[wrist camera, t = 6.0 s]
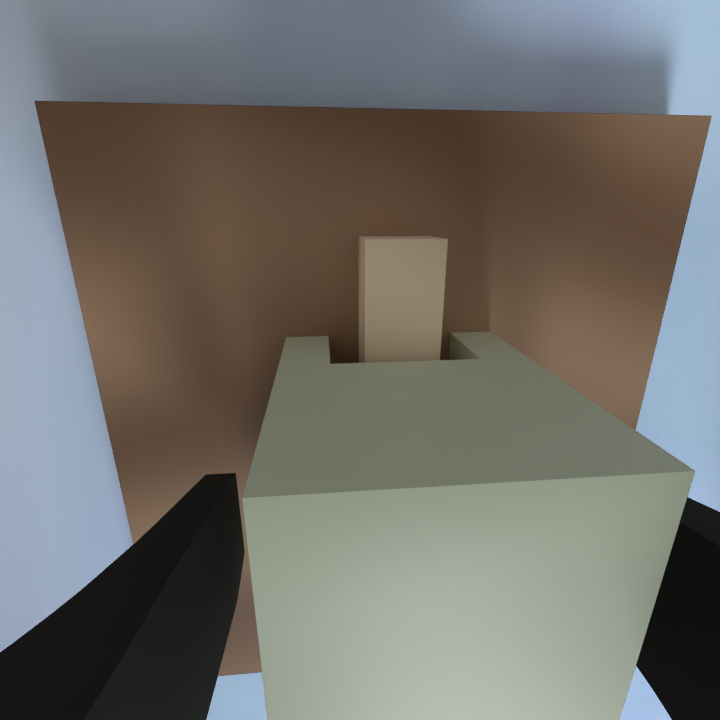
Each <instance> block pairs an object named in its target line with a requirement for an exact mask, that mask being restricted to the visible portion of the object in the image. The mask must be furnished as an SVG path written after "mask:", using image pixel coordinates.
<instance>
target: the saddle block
mask: <svg viewBox="0 0 720 720" xmlns="http://www.w3.org/2000/svg"><path fill="white" fill-rule="evenodd" d="M694 473H695V471H694V470H693V469H691V468H690V467H688V466H687V465H685V464H684V463H683V462H681V461H680V460H678V459H677V458H675V457H674V456H672V455H671V454H669V453H668V452H666V451H665V450H663V449H662V448H660V447H659V446H658V445H656V444H655V443H653V442H652V441H650V440H649V439H647V438H646V437H644V436H643V435H641V434H640V433H638V432H637V431H635V430H634V429H633V428H631V427H630V426H628V425H627V424H625V423H624V422H622V421H621V420H619V419H618V418H616V417H615V416H613V415H612V414H611V413H609V412H608V411H606V410H605V409H603V408H602V407H600V406H599V405H597V404H596V403H594V402H593V401H591V400H590V399H588V398H587V397H586V396H584V395H583V394H581V393H580V392H578V391H577V390H575V389H574V388H572V387H571V386H569V385H568V384H566V383H565V382H563V381H562V380H561V379H559V378H558V377H556V376H555V375H553V374H552V373H550V372H549V371H547V370H546V369H544V368H543V367H541V366H540V365H538V364H537V363H536V362H534V361H533V360H531V359H530V358H528V357H527V356H525V355H524V354H522V353H521V352H519V351H518V350H516V349H515V348H513V347H512V346H511V345H509V344H508V343H506V342H505V341H503V340H502V339H500V338H499V337H497V336H496V335H494V334H493V333H491V332H455V333H451V334H450V348H449V360H433V361H403V362H373V363H343V364H330V351H329V337H328V336H309V337H286V340H285V344H284V347H283V351H282V355H281V358H280V362H279V366H278V369H277V373H276V377H275V380H274V384H273V387H272V391H271V395H270V398H269V402H268V406H267V409H266V413H265V417H264V420H263V424H262V428H261V431H260V435H259V439H258V442H257V446H256V450H255V453H254V457H253V460H252V464H251V468H250V471H249V475H248V479H247V482H246V486H245V490H244V493H243V497H242V501H243V510H244V518H245V527H246V536H247V545H248V553H249V562H250V571H251V580H252V588H253V597H254V606H255V615H256V623H257V632H258V641H259V650H260V658H261V667H262V676H263V685H264V693H265V702H266V711H267V720H620V716H621V713H622V710H623V706H624V703H625V700H626V697H627V693H628V690H629V687H630V683H631V680H632V677H633V674H634V670H635V667H636V664H637V660H638V657H639V654H640V651H641V647H642V644H643V641H644V637H645V634H646V631H647V628H648V624H649V621H650V618H651V614H652V611H653V608H654V605H655V601H656V598H657V595H658V592H659V588H660V585H661V582H662V578H663V575H664V572H665V569H666V565H667V562H668V559H669V555H670V552H671V549H672V546H673V542H674V539H675V536H676V532H677V529H678V526H679V523H680V519H681V516H682V513H683V509H684V506H685V503H686V500H687V496H688V493H689V490H690V486H691V483H692V480H693V477H694Z"/></svg>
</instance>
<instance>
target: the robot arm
mask: <svg viewBox="0 0 720 720" xmlns="http://www.w3.org/2000/svg"><path fill="white" fill-rule="evenodd" d="M244 553H245V549H244V540H243V532H242V523H241V514H240V505H239V497H238V488H237V479H236V473H225V474H206V475H205V476H204V477H203V478H202V479H201V480H200V481H199V482H197V483H196V484H195V485H194V486H193V487H192V488H191V489H190V490H189V491H188V492H187V493H186V494H185V495H184V496H183V497H182V498H181V499H180V500H179V501H178V502H177V503H176V504H175V505H174V506H173V507H172V508H171V509H170V510H169V511H168V512H167V513H166V514H165V515H164V516H163V517H162V518H161V519H160V520H159V521H158V522H157V523H156V524H155V525H154V526H152V527H151V528H150V529H149V530H148V531H147V532H146V533H145V534H144V535H143V536H142V537H141V538H140V539H139V540H138V541H137V542H136V543H135V544H133V545H132V546H131V547H130V548H129V549H128V550H127V551H125V552H124V553H123V554H122V555H121V556H120V557H119V558H117V559H116V560H115V561H114V562H113V563H112V564H111V565H109V566H108V567H107V568H106V569H105V570H104V571H103V572H101V573H100V574H99V575H98V576H97V577H96V578H95V579H93V580H92V581H91V582H90V583H89V584H88V585H87V586H85V587H84V588H83V589H82V590H81V591H79V592H78V593H77V594H76V595H75V596H73V597H72V598H71V599H70V600H68V601H67V602H66V603H65V604H63V605H62V606H61V607H60V608H58V609H57V610H56V611H55V612H53V613H52V614H51V615H49V616H48V617H47V618H46V619H44V620H43V621H42V622H40V623H39V624H38V625H36V626H35V627H34V628H32V629H31V630H30V631H28V632H27V633H26V634H24V635H23V636H22V637H20V638H19V639H18V640H17V641H15V642H14V643H13V644H11V645H10V646H8V647H7V648H6V649H4V650H3V651H2V652H0V720H206V718H207V714H208V711H209V707H210V703H211V699H212V696H213V692H214V688H215V684H216V681H217V677H218V673H219V669H220V665H221V662H222V658H223V654H224V650H225V647H226V643H227V639H228V635H229V631H230V628H231V624H232V620H233V616H234V612H235V608H236V604H237V600H238V594H239V587H240V581H241V574H242V567H243V560H244ZM636 666H637V667H638V669H639V670H640V671H641V673H642V674H643V676H644V677H645V679H646V680H647V682H648V683H649V684H650V686H651V688H652V689H653V691H654V692H655V694H656V695H657V697H658V698H659V700H660V701H661V703H662V705H663V706H664V708H665V709H666V711H667V712H668V714H669V716H670V717H671V719H672V720H720V512H718V511H716V510H714V509H712V508H710V507H707V506H705V505H703V504H701V503H699V502H697V501H694V500H692V499H690V498H688V497H687V500H686V503H685V506H684V509H683V513H682V516H681V519H680V523H679V526H678V529H677V532H676V536H675V539H674V542H673V546H672V549H671V552H670V555H669V559H668V562H667V565H666V569H665V572H664V575H663V578H662V582H661V585H660V588H659V592H658V595H657V598H656V601H655V605H654V608H653V611H652V614H651V618H650V621H649V624H648V628H647V631H646V634H645V637H644V641H643V644H642V647H641V651H640V654H639V657H638V660H637V664H636Z"/></svg>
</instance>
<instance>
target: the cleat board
mask: <svg viewBox="0 0 720 720" xmlns="http://www.w3.org/2000/svg"><path fill="white" fill-rule="evenodd" d="M35 105H36V109H37V114H38V118H39V123H40V127H41V132H42V136H43V141H44V145H45V150H46V154H47V159H48V163H49V168H50V172H51V177H52V181H53V186H54V190H55V195H56V199H57V204H58V208H59V213H60V217H61V221H62V226H63V230H64V235H65V239H66V244H67V248H68V253H69V257H70V262H71V266H72V271H73V275H74V280H75V284H76V289H77V293H78V298H79V302H80V307H81V311H82V316H83V320H84V325H85V329H86V334H87V338H88V342H89V347H90V351H91V356H92V360H93V365H94V369H95V374H96V378H97V383H98V387H99V392H100V396H101V401H102V405H103V410H104V414H105V419H106V423H107V428H108V432H109V437H110V441H111V446H112V450H113V455H114V459H115V463H116V468H117V472H118V477H119V481H120V486H121V490H122V495H123V499H124V504H125V508H126V513H127V517H128V522H129V526H130V531H131V535H132V540H133V544H135V543H136V542H137V541H138V540H139V539H140V538H141V537H142V536H143V535H144V534H145V533H146V532H147V531H148V530H149V529H150V528H151V527H152V526H154V525H155V524H156V523H157V522H158V521H159V520H160V519H161V518H162V517H163V516H164V515H165V514H166V513H167V512H168V511H169V510H170V509H171V508H172V507H173V506H174V505H175V504H176V503H177V502H178V501H179V500H180V499H181V498H182V497H183V496H184V495H185V494H186V493H187V492H188V491H189V490H190V489H191V488H192V487H193V486H194V485H195V484H196V483H197V482H199V481H200V480H201V479H202V478H203V477H204V476H205V475H206V474H225V473H236V479H237V488H238V497H239V505H240V514H241V523H242V532H243V540H244V549H245V553H244V560H243V567H242V574H241V581H240V587H239V594H238V600H237V604H236V608H235V612H234V616H233V620H232V624H231V628H230V631H229V635H228V639H227V643H226V647H225V650H224V654H223V658H222V662H221V665H220V669H219V673H218V676H225V675H236V674H246V673H257V672H262V667H261V658H260V650H259V641H258V632H257V623H256V615H255V606H254V597H253V588H252V580H251V571H250V562H249V553H248V545H247V536H246V527H245V518H244V510H243V501H242V497H243V493H244V490H245V486H246V482H247V479H248V475H249V471H250V468H251V464H252V460H253V457H254V453H255V450H256V446H257V442H258V439H259V435H260V431H261V428H262V424H263V420H264V417H265V413H266V409H267V406H268V402H269V398H270V395H271V391H272V387H273V384H274V380H275V377H276V373H277V369H278V366H279V362H280V358H281V355H282V351H283V347H284V344H285V340H286V337H309V336H328V337H329V351H330V364H343V363H373V362H403V361H433V360H449V348H450V334H451V333H455V332H491V333H493V334H494V335H496V336H497V337H499V338H500V339H502V340H503V341H505V342H506V343H508V344H509V345H511V346H512V347H513V348H515V349H516V350H518V351H519V352H521V353H522V354H524V355H525V356H527V357H528V358H530V359H531V360H533V361H534V362H536V363H537V364H538V365H540V366H541V367H543V368H544V369H546V370H547V371H549V372H550V373H552V374H553V375H555V376H556V377H558V378H559V379H561V380H562V381H563V382H565V383H566V384H568V385H569V386H571V387H572V388H574V389H575V390H577V391H578V392H580V393H581V394H583V395H584V396H586V397H587V398H588V399H590V400H591V401H593V402H594V403H596V404H597V405H599V406H600V407H602V408H603V409H605V410H606V411H608V412H609V413H611V414H612V415H613V416H615V417H616V418H618V419H619V420H621V421H622V422H624V423H625V424H627V425H628V426H630V427H631V428H633V429H634V430H635V429H636V425H637V421H638V417H639V413H640V409H641V405H642V400H643V396H644V392H645V388H646V384H647V380H648V376H649V372H650V368H651V363H652V359H653V355H654V351H655V347H656V343H657V339H658V335H659V331H660V326H661V322H662V318H663V314H664V310H665V306H666V302H667V298H668V294H669V289H670V285H671V281H672V277H673V273H674V269H675V265H676V261H677V256H678V252H679V248H680V244H681V240H682V236H683V232H684V228H685V224H686V219H687V215H688V211H689V207H690V203H691V199H692V195H693V191H694V187H695V182H696V178H697V174H698V170H699V166H700V162H701V158H702V154H703V150H704V145H705V141H706V137H707V133H708V129H709V125H710V121H711V117H712V116H698V115H653V114H607V113H562V112H517V111H471V110H426V109H380V108H335V107H289V106H244V105H198V104H153V103H107V102H62V101H35Z"/></svg>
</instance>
